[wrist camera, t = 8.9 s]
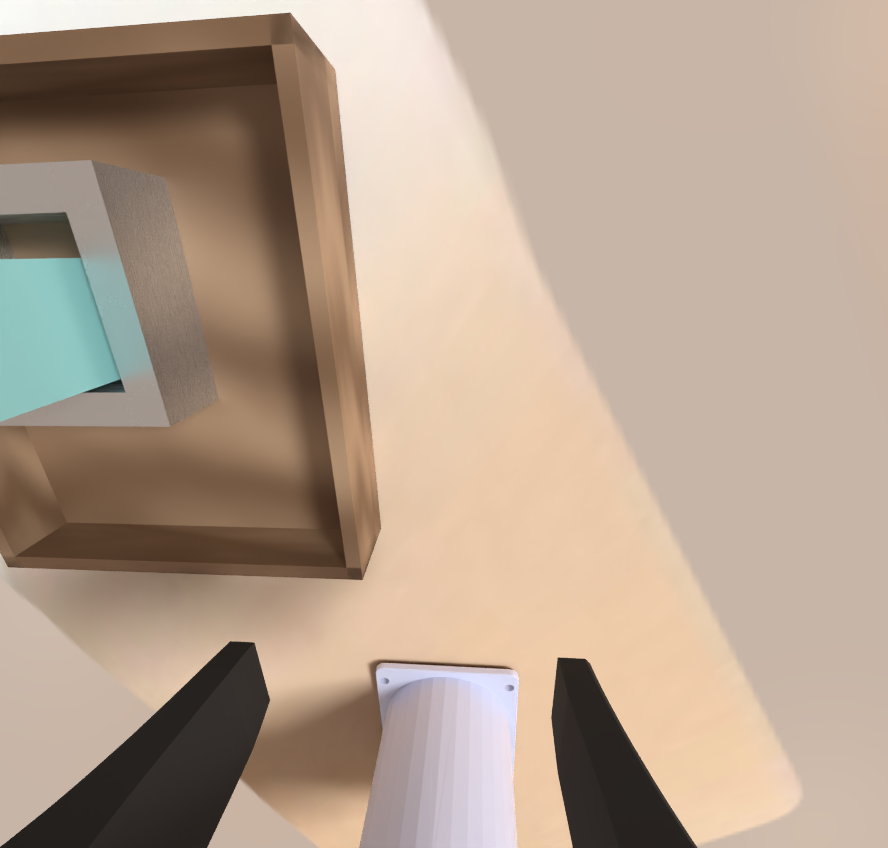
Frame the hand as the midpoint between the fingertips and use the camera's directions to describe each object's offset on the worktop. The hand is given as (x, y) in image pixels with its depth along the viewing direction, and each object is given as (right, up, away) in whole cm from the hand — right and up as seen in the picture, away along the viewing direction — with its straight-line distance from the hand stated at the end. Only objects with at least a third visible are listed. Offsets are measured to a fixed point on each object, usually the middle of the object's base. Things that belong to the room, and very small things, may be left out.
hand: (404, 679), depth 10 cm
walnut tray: (-10, +9, +8) cm, 16 cm away
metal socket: (-12, +11, +7) cm, 18 cm away
